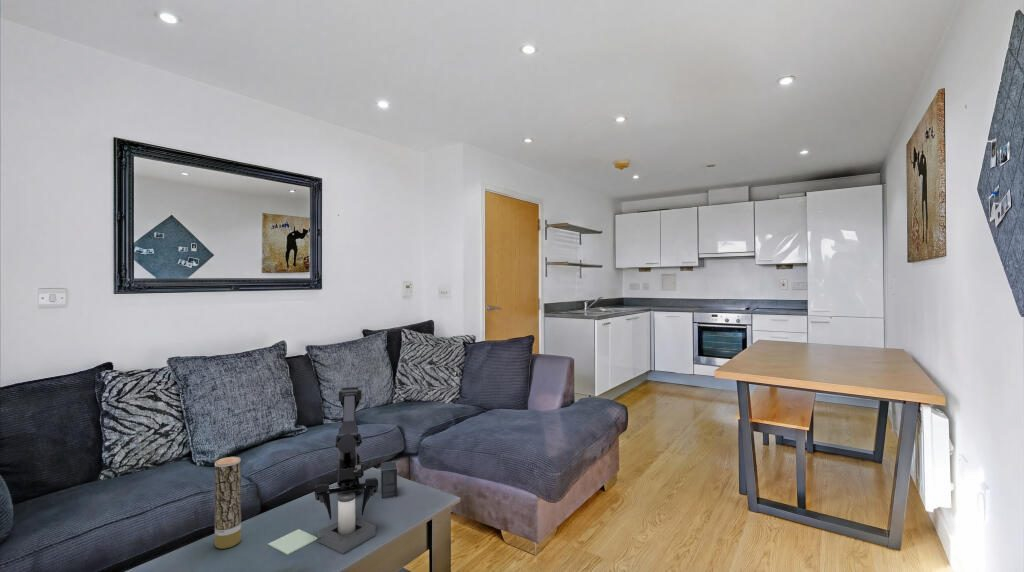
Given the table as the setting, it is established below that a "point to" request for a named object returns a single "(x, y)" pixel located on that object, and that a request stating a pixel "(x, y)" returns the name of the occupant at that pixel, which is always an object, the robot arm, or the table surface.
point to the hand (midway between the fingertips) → (346, 516)
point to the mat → (293, 542)
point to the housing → (348, 542)
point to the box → (388, 479)
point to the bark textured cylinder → (227, 502)
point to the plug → (346, 513)
